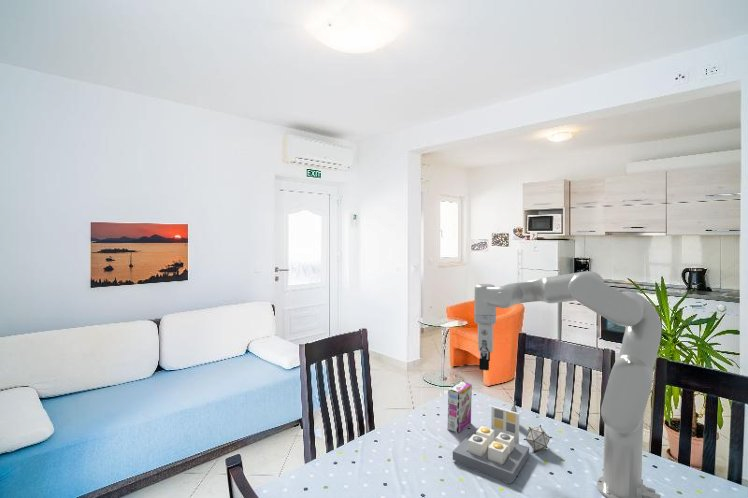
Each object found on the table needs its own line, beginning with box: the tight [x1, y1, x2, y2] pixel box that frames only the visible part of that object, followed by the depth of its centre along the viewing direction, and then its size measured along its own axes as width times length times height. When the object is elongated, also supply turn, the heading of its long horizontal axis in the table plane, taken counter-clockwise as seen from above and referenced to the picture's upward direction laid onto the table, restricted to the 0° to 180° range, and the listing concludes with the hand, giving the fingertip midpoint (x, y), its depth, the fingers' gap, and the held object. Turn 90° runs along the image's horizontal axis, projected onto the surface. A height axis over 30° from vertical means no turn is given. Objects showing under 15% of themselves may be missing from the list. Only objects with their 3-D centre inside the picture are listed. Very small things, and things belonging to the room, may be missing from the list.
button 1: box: [476, 425, 494, 447], centre depth 135 cm, size 5×5×5 cm
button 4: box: [488, 441, 508, 465], centre depth 126 cm, size 5×5×5 cm
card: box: [490, 405, 520, 444], centre depth 142 cm, size 10×3×12 cm, turn 53°
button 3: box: [496, 432, 514, 455], centre depth 131 cm, size 5×5×5 cm
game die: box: [523, 424, 553, 454], centre depth 136 cm, size 9×8×10 cm
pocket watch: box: [510, 400, 518, 413], centre depth 154 cm, size 8×8×10 cm
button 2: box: [468, 434, 487, 457], centre depth 130 cm, size 5×5×5 cm
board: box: [452, 429, 530, 484], centre depth 131 cm, size 20×18×4 cm
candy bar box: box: [447, 381, 473, 434], centre depth 152 cm, size 11×5×16 cm, turn 139°
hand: (484, 365), depth 138 cm, fingers open, 9 cm apart
